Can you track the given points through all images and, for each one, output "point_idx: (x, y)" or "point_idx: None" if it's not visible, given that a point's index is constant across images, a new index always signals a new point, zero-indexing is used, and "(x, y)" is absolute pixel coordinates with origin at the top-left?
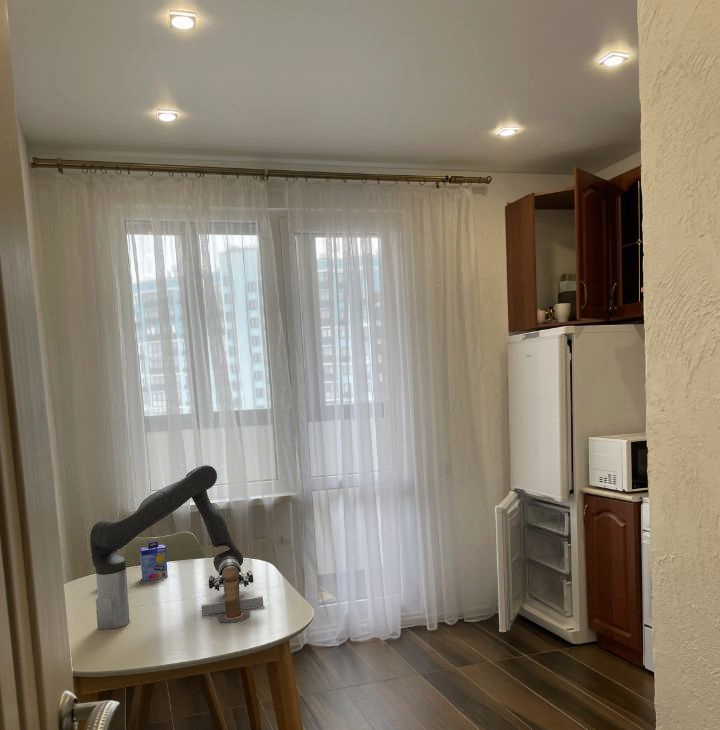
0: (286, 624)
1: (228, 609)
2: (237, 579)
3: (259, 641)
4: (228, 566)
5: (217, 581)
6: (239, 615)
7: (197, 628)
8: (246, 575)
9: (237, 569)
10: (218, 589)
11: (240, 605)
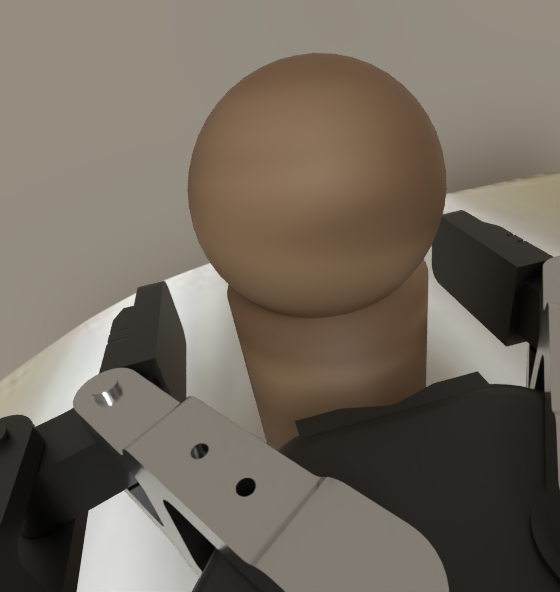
0: (53, 390)
1: None
2: (242, 301)
3: (191, 281)
4: (317, 53)
5: (515, 250)
6: None
7: None
8: (90, 389)
9: (194, 150)
10: (439, 260)
11: None
